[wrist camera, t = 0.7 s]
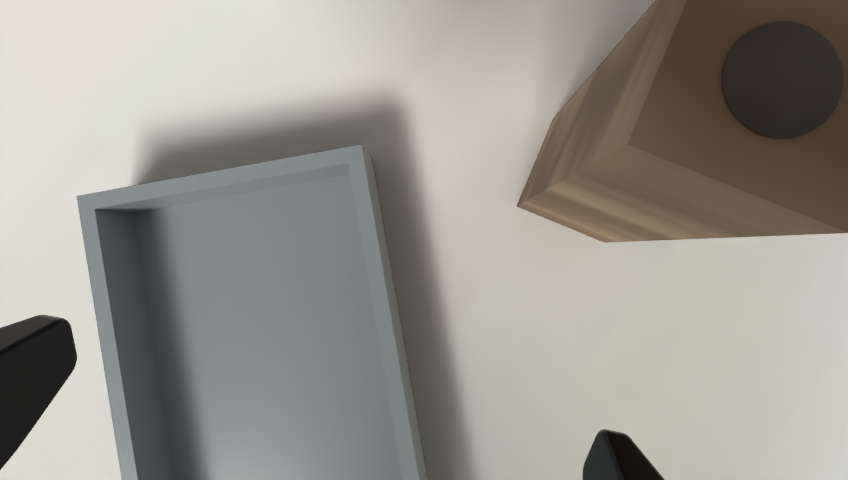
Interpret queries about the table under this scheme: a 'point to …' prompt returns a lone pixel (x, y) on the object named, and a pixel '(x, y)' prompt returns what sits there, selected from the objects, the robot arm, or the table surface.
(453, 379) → the table surface
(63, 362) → the robot arm
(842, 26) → the block
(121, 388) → the tray
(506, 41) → the table surface
